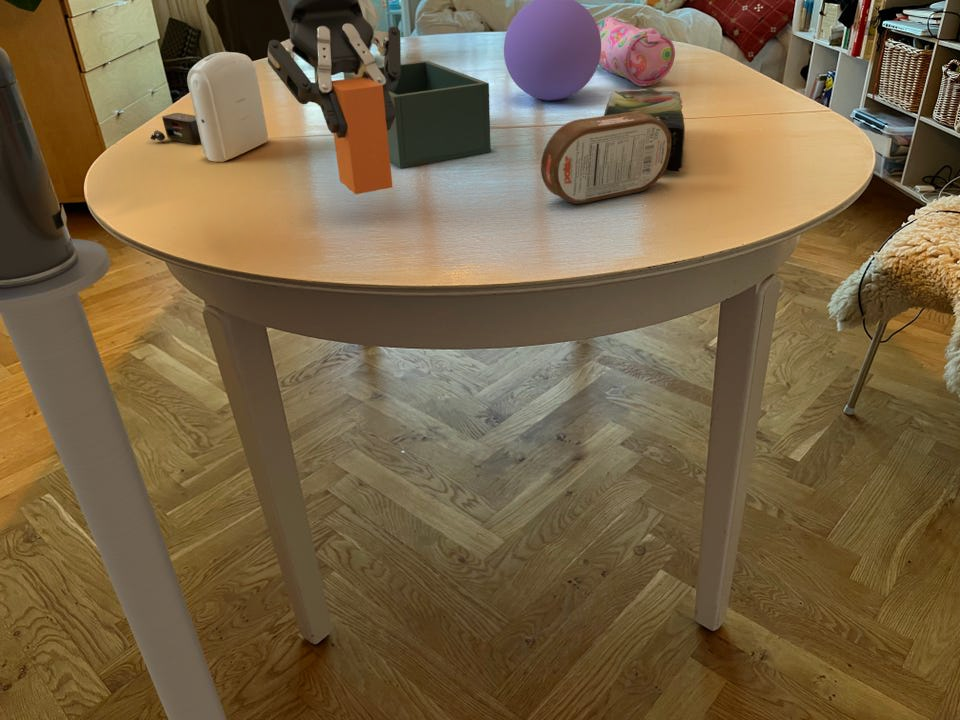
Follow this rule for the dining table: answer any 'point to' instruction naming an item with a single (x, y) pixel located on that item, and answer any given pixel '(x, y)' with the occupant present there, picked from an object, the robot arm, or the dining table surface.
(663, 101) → the juice carton
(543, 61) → the decorative ball
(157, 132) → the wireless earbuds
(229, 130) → the photo printer
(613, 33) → the pencil case
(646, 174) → the tin
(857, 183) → the dining table surface
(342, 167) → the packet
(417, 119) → the trash bin
